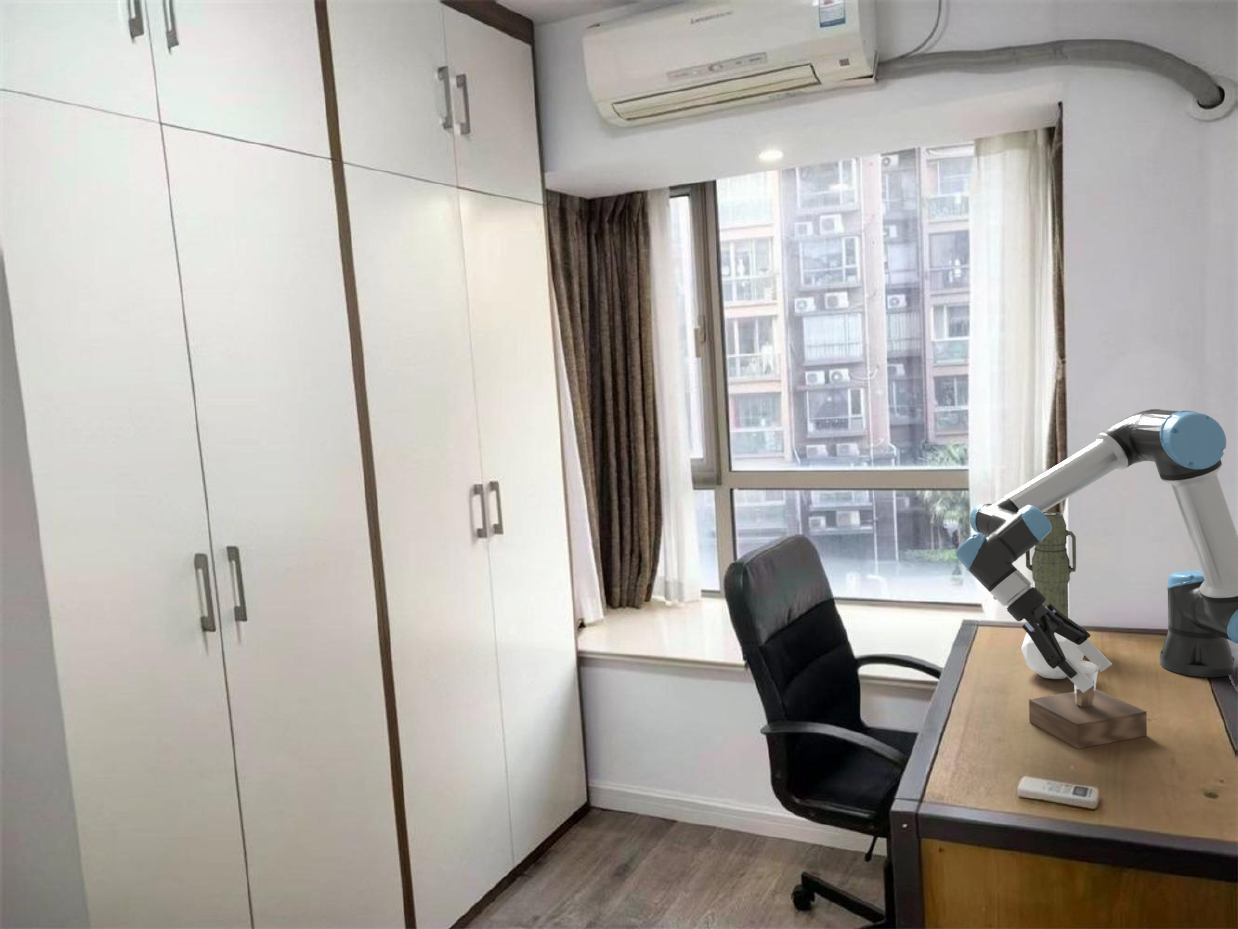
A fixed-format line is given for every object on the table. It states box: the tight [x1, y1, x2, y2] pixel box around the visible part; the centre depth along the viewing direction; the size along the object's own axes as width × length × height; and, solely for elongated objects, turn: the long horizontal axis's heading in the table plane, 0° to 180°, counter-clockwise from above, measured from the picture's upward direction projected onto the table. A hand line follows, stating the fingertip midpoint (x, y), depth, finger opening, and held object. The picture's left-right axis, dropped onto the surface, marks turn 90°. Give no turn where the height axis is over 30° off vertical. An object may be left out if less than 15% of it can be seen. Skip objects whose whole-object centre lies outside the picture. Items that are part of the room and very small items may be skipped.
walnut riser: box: [1028, 688, 1148, 750], centre depth 182 cm, size 16×14×5 cm
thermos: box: [1025, 511, 1077, 618], centre depth 232 cm, size 9×12×35 cm
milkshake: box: [1073, 659, 1101, 708], centre depth 181 cm, size 4×5×10 cm
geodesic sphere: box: [1020, 631, 1085, 680], centre depth 211 cm, size 14×14×14 cm
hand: (1098, 678), depth 180 cm, fingers open, 13 cm apart
